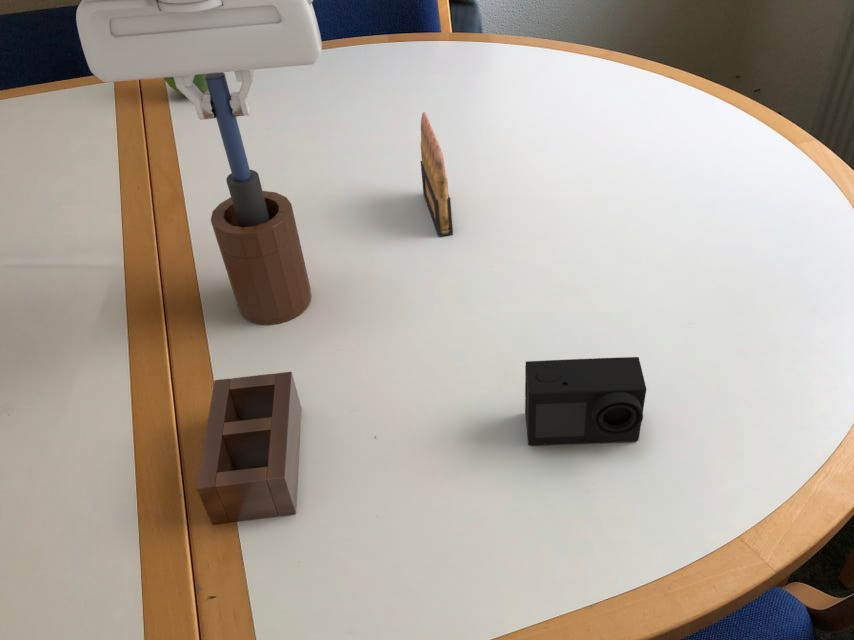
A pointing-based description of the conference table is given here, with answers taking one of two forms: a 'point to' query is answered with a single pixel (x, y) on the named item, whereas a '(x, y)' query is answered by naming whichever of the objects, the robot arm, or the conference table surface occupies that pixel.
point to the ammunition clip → (435, 180)
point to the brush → (237, 158)
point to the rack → (251, 449)
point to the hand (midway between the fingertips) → (225, 115)
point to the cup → (264, 262)
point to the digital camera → (584, 400)
